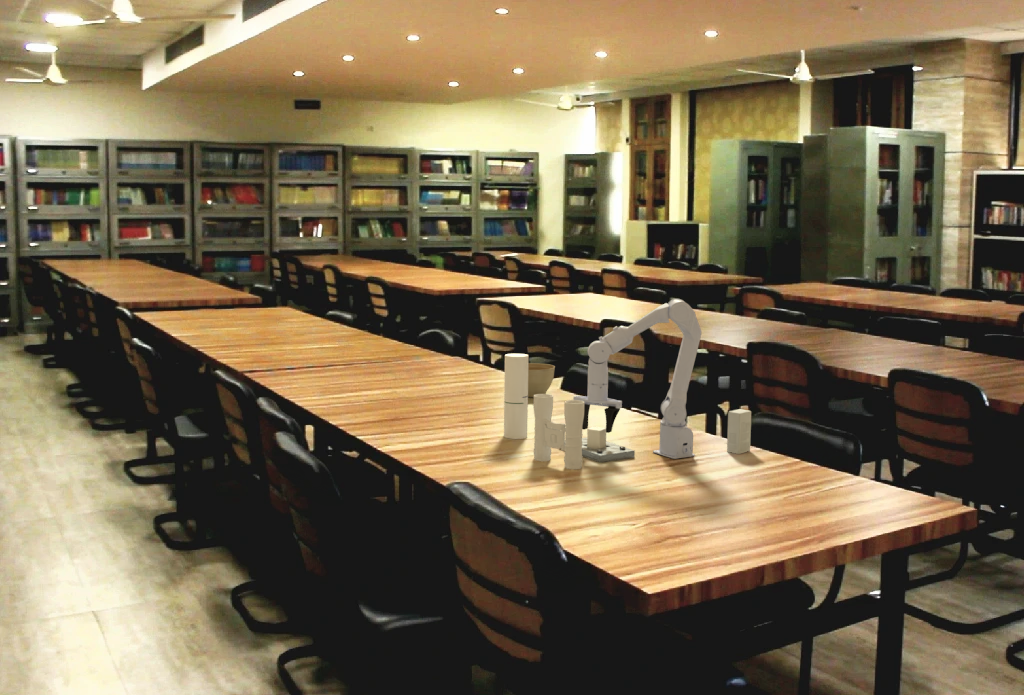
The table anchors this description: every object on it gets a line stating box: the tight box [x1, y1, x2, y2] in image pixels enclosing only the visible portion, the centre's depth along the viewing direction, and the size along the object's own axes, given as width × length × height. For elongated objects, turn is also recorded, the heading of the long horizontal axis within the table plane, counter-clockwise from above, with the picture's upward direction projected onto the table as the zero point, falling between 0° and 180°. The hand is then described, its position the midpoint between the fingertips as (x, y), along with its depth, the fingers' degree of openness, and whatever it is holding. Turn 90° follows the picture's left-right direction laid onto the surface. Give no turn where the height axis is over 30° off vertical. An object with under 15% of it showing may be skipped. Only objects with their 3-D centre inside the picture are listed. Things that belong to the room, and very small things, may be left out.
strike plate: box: [582, 437, 636, 463], centre depth 305 cm, size 20×12×3 cm, turn 32°
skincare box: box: [726, 408, 752, 455], centre depth 308 cm, size 6×4×12 cm
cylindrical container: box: [503, 353, 529, 440], centre depth 323 cm, size 7×7×25 cm
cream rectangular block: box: [586, 426, 607, 449], centre depth 305 cm, size 4×4×7 cm
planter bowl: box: [528, 362, 556, 398], centre depth 392 cm, size 16×16×11 cm
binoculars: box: [533, 393, 585, 470], centre depth 291 cm, size 17×5×18 cm, turn 43°
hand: (596, 430), depth 304 cm, fingers open, 7 cm apart
